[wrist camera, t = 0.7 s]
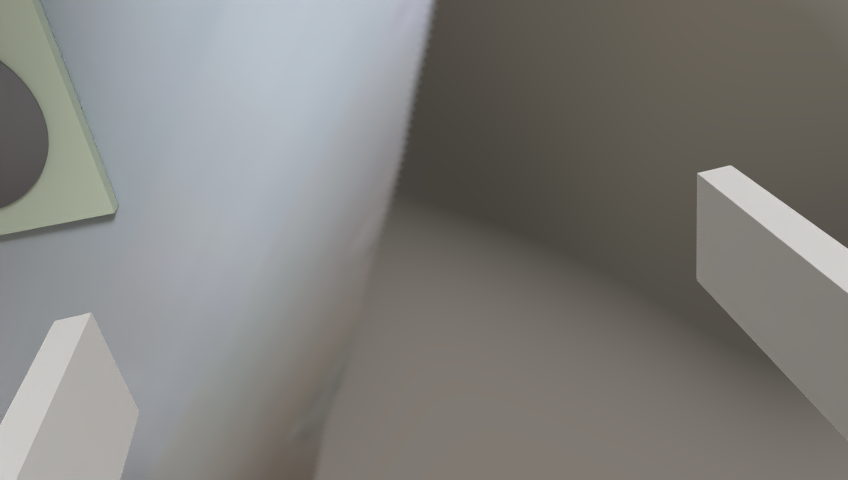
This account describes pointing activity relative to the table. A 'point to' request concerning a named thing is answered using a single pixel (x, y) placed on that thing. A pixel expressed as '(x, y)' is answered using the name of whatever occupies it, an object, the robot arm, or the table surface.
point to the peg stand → (43, 131)
